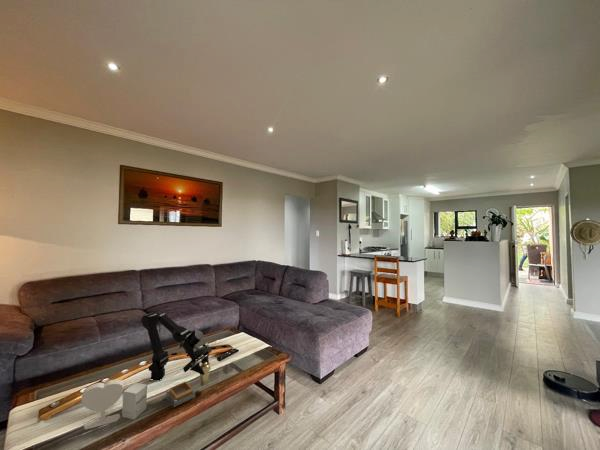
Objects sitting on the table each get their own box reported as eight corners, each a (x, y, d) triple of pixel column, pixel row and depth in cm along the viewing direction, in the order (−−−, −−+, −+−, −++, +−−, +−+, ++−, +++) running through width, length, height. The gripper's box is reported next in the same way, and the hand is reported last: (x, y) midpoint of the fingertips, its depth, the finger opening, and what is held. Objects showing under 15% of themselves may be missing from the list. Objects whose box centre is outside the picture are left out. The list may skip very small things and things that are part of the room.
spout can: (197, 384, 141) (198, 363, 141) (203, 379, 146) (204, 358, 146) (206, 386, 139) (207, 365, 139) (211, 381, 144) (212, 360, 144)
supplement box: (134, 420, 120) (135, 394, 120) (121, 417, 121) (122, 391, 121) (146, 408, 127) (147, 384, 127) (134, 406, 128) (135, 381, 128)
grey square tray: (174, 408, 128) (174, 398, 128) (166, 397, 136) (166, 388, 136) (195, 397, 136) (195, 388, 136) (186, 388, 144) (187, 379, 144)
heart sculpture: (123, 412, 124) (124, 376, 124) (121, 419, 120) (123, 382, 119) (83, 422, 117) (84, 384, 117) (79, 431, 112) (81, 391, 112)
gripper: (188, 348, 134) (205, 373, 131) (210, 334, 152) (225, 355, 149) (175, 360, 137) (192, 384, 134) (198, 344, 155) (213, 365, 152)
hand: (206, 371), depth 142 cm, fingers closed on spout can, 5 cm apart
